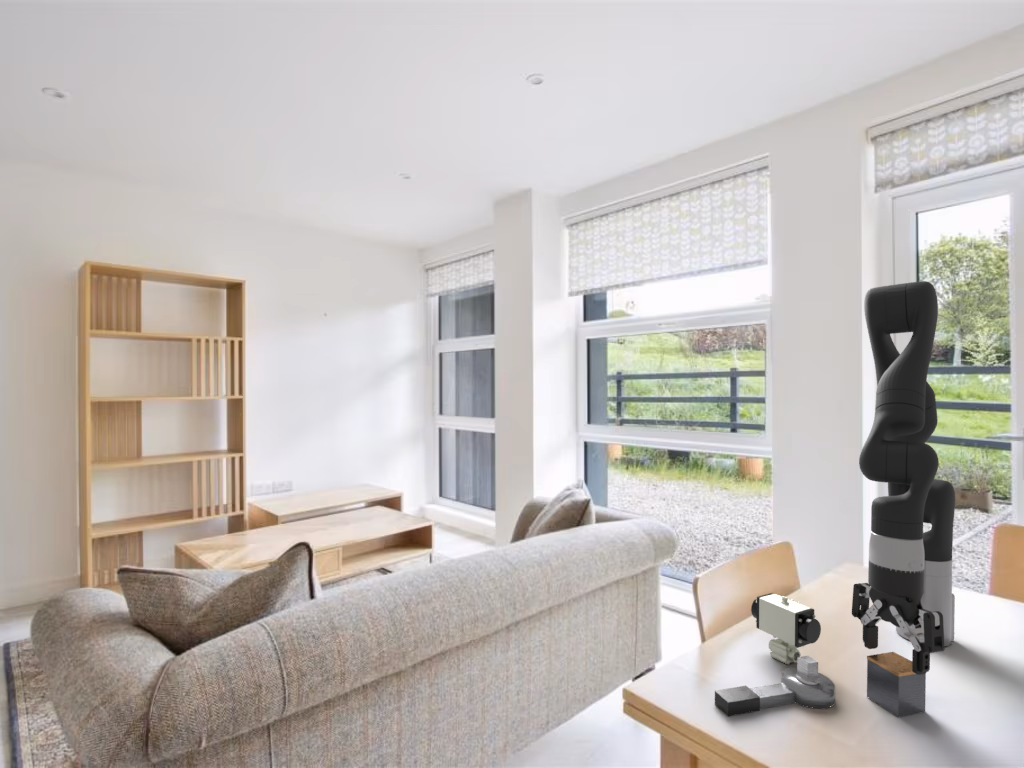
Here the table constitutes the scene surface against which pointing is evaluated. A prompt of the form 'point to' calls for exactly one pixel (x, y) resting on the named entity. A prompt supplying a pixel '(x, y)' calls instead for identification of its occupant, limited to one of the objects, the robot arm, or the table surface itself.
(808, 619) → the pneumatic valve
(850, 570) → the table surface
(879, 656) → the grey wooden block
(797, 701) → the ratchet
